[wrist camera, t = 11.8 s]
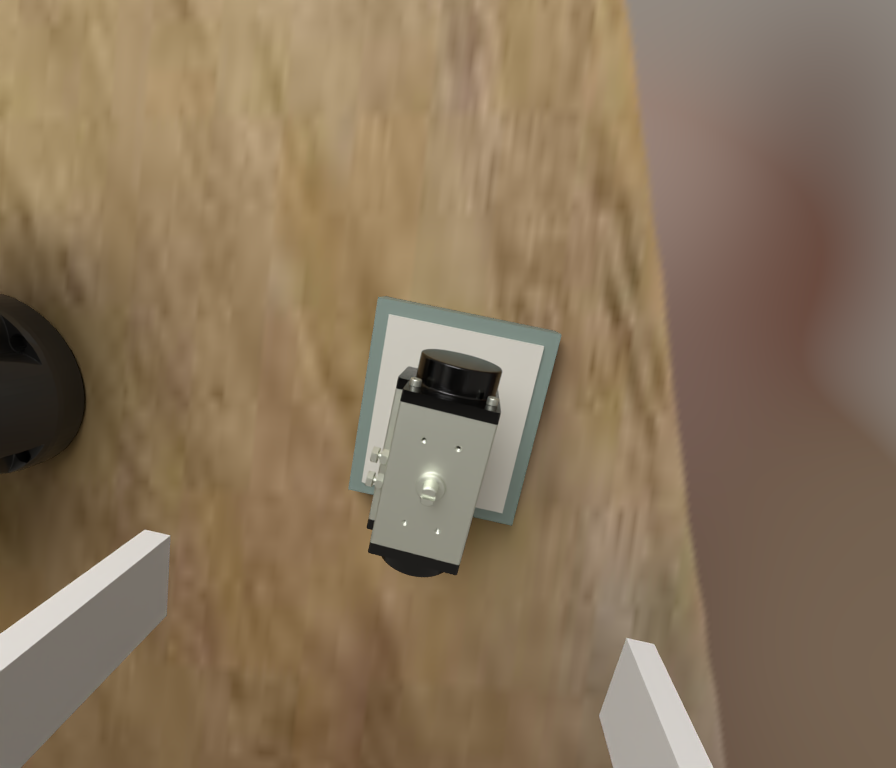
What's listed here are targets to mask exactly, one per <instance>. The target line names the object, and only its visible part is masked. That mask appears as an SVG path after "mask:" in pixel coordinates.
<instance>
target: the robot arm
mask: <svg viewBox="0 0 896 768" xmlns="http://www.w3.org/2000/svg"><path fill="white" fill-rule="evenodd" d="M83 410H84V390H83V383H82V379H81V375H80V371H79V368H78V366H77V363H76V361H75V359H74V356H73V354H72V352H71V351H70V349H69V347H68V346H67V344H66V342H65V341H64V339H63V338H62V337H61V335H60V334H59V333H58V332H57V330H56V329H55V328H54V327H53V326H52V325H51V324H50V323H49V322H48V321H47V320H46V319H45V318H44V317H43V316H41V315H40V314H39V313H38V312H36V311H35V310H34V309H32V308H31V307H29V306H27V305H26V304H24V303H22V302H20V301H18V300H16V299H14V298H11V297H9V296H6V295H3V294H0V474H6V473H11V472H15V471H19V470H22V469H25V468H28V467H30V466H33V465H35V464H38V463H40V462H43V461H45V460H48V459H50V458H52V457H54V456H56V455H57V454H59V453H60V452H61V451H63V450H64V449H65V448H66V447H67V446H68V445H69V444H70V442H71V441H72V440H73V438H74V437H75V435H76V433H77V431H78V429H79V427H80V424H81V420H82V416H83ZM169 554H170V535H166V534H162V533H157V532H153V531H148V530H144V531H142V532H141V533H139V534H138V535H137V536H135V537H134V538H132V539H131V540H130V541H128V542H127V543H126V544H124V545H123V546H121V547H120V548H119V549H117V550H116V551H114V552H113V553H112V554H110V555H109V556H108V557H106V558H105V559H103V560H102V561H101V562H99V563H98V564H96V565H95V566H94V567H92V568H91V569H90V570H88V571H87V572H85V573H84V574H83V575H81V576H80V577H78V578H77V579H76V580H74V581H73V582H71V583H70V584H69V585H67V586H66V587H65V588H63V589H62V590H60V591H59V592H58V593H56V594H55V595H53V596H52V597H51V598H49V599H48V600H47V601H45V602H44V603H42V604H41V605H40V606H38V607H37V608H35V609H34V610H33V611H31V612H30V613H29V614H27V615H26V616H24V617H23V618H22V619H20V620H19V621H17V622H16V623H15V624H13V625H12V626H10V627H9V628H8V629H6V630H5V631H4V632H2V633H1V634H0V768H21V767H22V766H23V765H24V764H25V763H26V762H27V760H28V759H29V758H30V757H31V756H32V755H33V754H34V753H35V752H36V751H37V750H38V749H39V748H40V747H41V746H42V745H43V744H44V743H45V742H46V741H47V740H48V739H49V738H50V737H51V735H52V734H53V733H54V732H55V731H56V730H57V729H58V728H59V727H60V726H61V725H62V724H63V723H64V722H65V721H66V720H67V719H68V718H69V717H70V716H71V715H72V714H73V713H74V711H75V710H76V709H77V708H78V707H79V706H80V705H81V704H82V703H83V702H84V701H85V700H86V699H87V698H88V697H89V696H90V695H91V694H92V693H93V692H94V691H95V690H96V689H97V687H98V686H99V685H100V684H101V683H102V682H103V681H104V680H105V679H106V678H107V677H108V676H109V675H110V674H111V673H112V672H113V671H114V670H115V669H116V668H117V667H118V666H119V665H120V664H121V662H122V661H123V660H124V659H125V658H126V657H127V656H128V655H129V654H130V653H131V652H132V651H133V650H134V649H135V648H136V647H137V646H138V645H139V644H140V643H141V642H142V641H143V640H144V638H145V637H146V636H147V635H148V634H149V633H150V632H151V631H152V630H153V629H154V628H155V627H156V626H157V625H158V624H159V623H160V622H161V621H162V620H163V619H164V618H165V617H166V616H167V596H168V575H169ZM599 717H600V720H601V724H602V728H603V732H604V735H605V739H606V743H607V746H608V750H609V754H610V757H611V761H612V765H613V768H713V766H712V764H711V762H710V760H709V758H708V756H707V754H706V752H705V750H704V748H703V745H702V743H701V741H700V739H699V737H698V735H697V733H696V731H695V729H694V727H693V725H692V722H691V720H690V718H689V716H688V714H687V712H686V710H685V708H684V706H683V704H682V702H681V699H680V697H679V695H678V693H677V691H676V689H675V687H674V685H673V683H672V681H671V679H670V677H669V674H668V672H667V670H666V668H665V666H664V664H663V662H662V660H661V658H660V656H659V654H658V651H657V649H656V647H655V645H654V644H651V643H646V642H642V641H638V640H633V639H629V638H626V641H625V643H624V646H623V649H622V652H621V655H620V658H619V661H618V663H617V666H616V669H615V672H614V675H613V678H612V680H611V683H610V686H609V689H608V692H607V695H606V697H605V700H604V703H603V706H602V709H601V712H600V715H599Z"/></svg>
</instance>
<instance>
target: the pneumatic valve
mask: <svg viewBox="0 0 896 768" xmlns="http://www.w3.org/2000/svg"><path fill="white" fill-rule="evenodd" d="M501 376H502V369H501V368H500V367H499V366H497V365H495V364H493V363H491V362H489V361H486V360H484V359H481V358H477V357H474V356H471V355H467V354H463V353H458V352H453V351H448V350H441V349H425V350H423V351H422V352H421V355H420V360H419V364H418V368H414V367H410V366H408V367H407V368H406V369H405V370H404V371H403V372H402V373H401V374H400V375H399V376H398V380H397V385H396V390H395V394H394V399H393V404H392V409H391V414H390V418H389V423H388V428H387V433H386V437H385V442H384V447H383V451H382V453H381V452H380V451H381V448H379V447H374V448H373V450H372V453H371V457H370V461H371V462H375V463H377V461H378V459H380V462H379V463H380V466H379V471H378V475H377V477H375V475H376V473H375V472H372V471H369V472H368V474H367V477H366V482H365V485H366V486H370V487H372V485H373V483H375V486H374V488H375V490H374V495H373V500H372V505H371V509H370V514H369V519H368V524H367V529H371V530H372V535H371V540H370V545H369V549H368V552H369V553H371V554H375V555H379V556H382V558H383V559H384V561H385V562H386V563H387V564H388V565H390V566H391V567H392V568H394V569H395V570H397V571H399V572H401V573H404V574H407V575H410V576H416V577H432V576H436V575H439V574H441V573H443V572H445V573H449V574H453V575H457V573H458V569H459V565H460V562H461V558H462V554H463V551H464V547H465V543H466V540H467V536H468V533H469V529H470V525H471V522H472V518H473V514H474V511H475V507H476V503H477V500H478V496H479V492H480V489H481V485H482V481H483V478H484V474H485V470H486V467H487V463H488V459H489V456H490V452H491V448H492V445H493V441H494V437H495V434H496V430H497V426H498V423H499V419H500V415H501V408H500V400H499V393H498V387H499V383H500V380H501Z"/></svg>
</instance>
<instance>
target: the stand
mask: <svg viewBox="0 0 896 768" xmlns="http://www.w3.org/2000/svg"><path fill="white" fill-rule="evenodd" d="M560 339H561V334H560V333H558V332H556V331H553V330H548V329H543V328H538V327H533V326H528V325H523V324H518V323H514V322H509V321H504V320H499V319H494V318H489V317H484V316H479V315H475V314H470V313H465V312H460V311H455V310H450V309H445V308H440V307H435V306H431V305H426V304H421V303H416V302H411V301H406V300H401V299H396V298H391V297H387V296H385V297H378V302H377V308H376V315H375V321H374V328H373V334H372V340H371V347H370V353H369V360H368V366H367V373H366V379H365V386H364V392H363V398H362V405H361V411H360V418H359V424H358V431H357V437H356V444H355V450H354V456H353V463H352V469H351V476H350V482H349V490H354V491H358V492H363V493H367V494H372V495H374V490H375V488H374V486H375V483H373V485H372V487H370V486H366V485H365V482H366V477H367V474H368V472H369V471H372V472H375V473H376V475H375V477H377V475H378V471H379V466H380V463H379V462H380V459H378V461H377V463H375V462H371V461H370V457H371V453H372V450H373V448H374V447H379V448H381V451H380V452H381V453H382V451H383V447H384V442H385V437H386V433H387V428H388V423H389V418H390V414H391V409H392V404H393V399H394V394H395V390H396V385H397V380H398V376H399V375H400V374H401V373H402V372H403V371H404V370H405V369H406V368H407V367H408V366H410V367H414V368H418V364H419V360H420V355H421V352H422V351H423V350H425V349H441V350H448V351H453V352H458V353H463V354H467V355H471V356H474V357H477V358H481V359H484V360H486V361H489V362H491V363H493V364H495V365H497V366H499V367H500V368H501V369H502V376H501V380H500V383H499V387H498V393H499V400H500V408H501V415H500V419H499V423H498V426H497V430H496V434H495V437H494V441H493V445H492V448H491V452H490V456H489V459H488V463H487V467H486V470H485V474H484V478H483V481H482V485H481V489H480V492H479V496H478V500H477V503H476V507H475V511H474V514H473V517H475V518H480V519H484V520H489V521H493V522H498V523H502V524H507V525H511V526H512V524H513V520H514V516H515V512H516V509H517V505H518V501H519V497H520V493H521V489H522V485H523V482H524V478H525V474H526V470H527V466H528V462H529V458H530V455H531V451H532V447H533V443H534V439H535V435H536V431H537V427H538V424H539V420H540V416H541V412H542V408H543V404H544V400H545V397H546V393H547V389H548V385H549V381H550V377H551V373H552V370H553V366H554V362H555V358H556V354H557V350H558V346H559V343H560Z"/></svg>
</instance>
